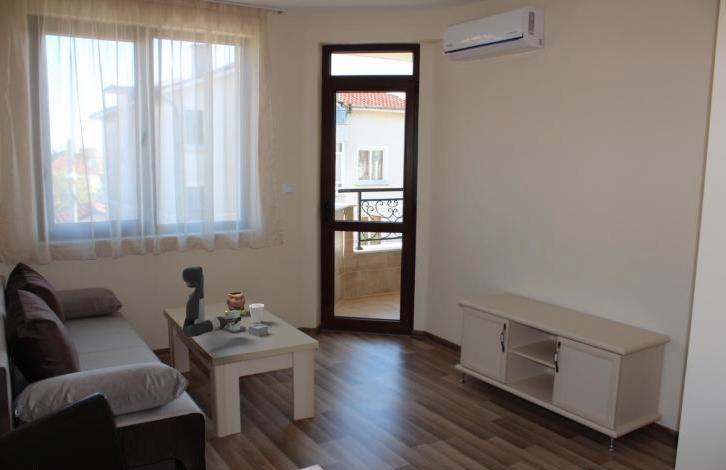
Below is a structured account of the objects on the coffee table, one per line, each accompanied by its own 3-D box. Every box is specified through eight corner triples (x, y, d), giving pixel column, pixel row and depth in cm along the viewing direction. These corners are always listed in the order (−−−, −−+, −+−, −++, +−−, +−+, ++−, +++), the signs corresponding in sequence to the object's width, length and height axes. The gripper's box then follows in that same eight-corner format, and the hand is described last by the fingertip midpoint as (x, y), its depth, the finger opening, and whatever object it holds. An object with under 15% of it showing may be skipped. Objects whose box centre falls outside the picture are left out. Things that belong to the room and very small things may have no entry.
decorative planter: (221, 310, 423) (220, 291, 421) (237, 308, 430) (237, 288, 428) (233, 317, 407) (233, 296, 405) (250, 314, 414) (250, 294, 412)
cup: (261, 324, 389) (261, 307, 388) (246, 323, 391) (246, 307, 390) (267, 320, 399) (266, 304, 398) (252, 319, 401) (252, 303, 400)
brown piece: (225, 325, 379) (224, 311, 378) (225, 324, 382) (225, 310, 381) (246, 325, 380) (245, 311, 379) (246, 324, 383) (246, 310, 382)
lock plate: (220, 329, 379) (220, 326, 378) (231, 326, 386) (231, 323, 385) (234, 333, 371) (234, 330, 370) (245, 329, 378) (245, 326, 378)
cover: (234, 331, 360) (233, 312, 359) (229, 329, 363) (228, 311, 362) (240, 329, 364) (240, 311, 362) (235, 327, 367) (234, 310, 365)
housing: (258, 336, 365) (258, 328, 365) (248, 333, 370) (248, 326, 369) (267, 333, 372) (267, 325, 371) (258, 330, 376) (258, 323, 376)
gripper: (223, 319, 346) (246, 313, 360) (207, 315, 355) (229, 309, 369) (223, 332, 347) (246, 325, 361) (207, 328, 356) (230, 322, 370)
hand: (237, 317), depth 365 cm, fingers closed on cover, 4 cm apart
